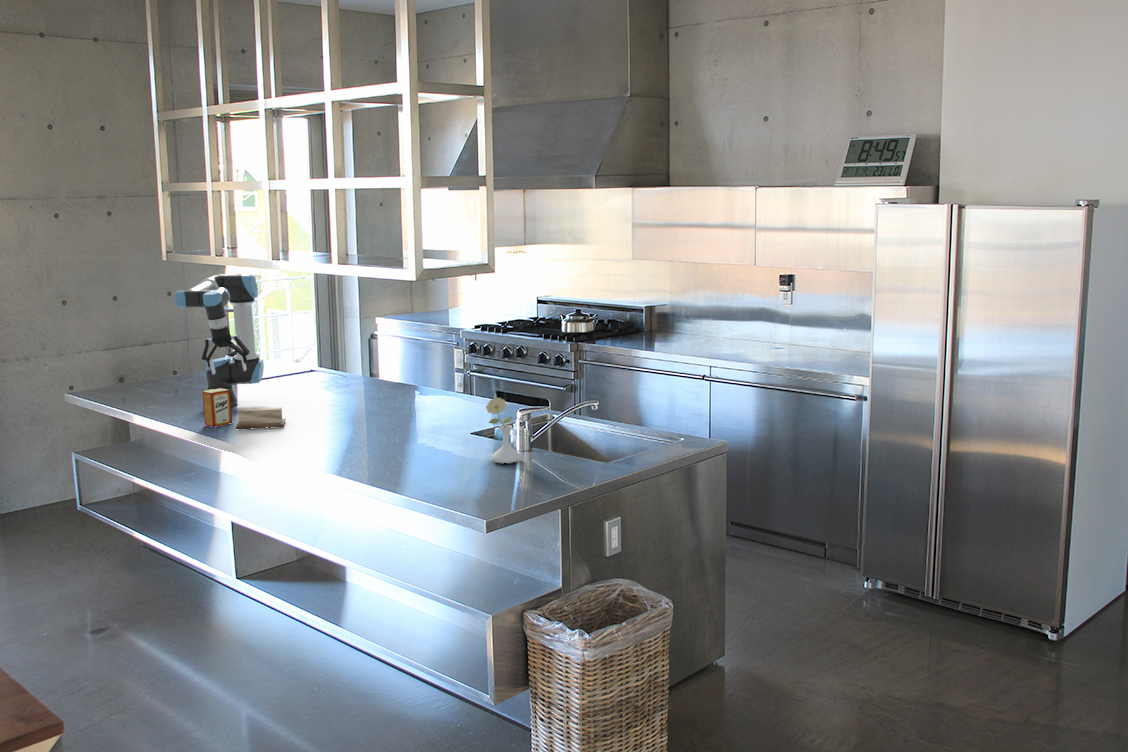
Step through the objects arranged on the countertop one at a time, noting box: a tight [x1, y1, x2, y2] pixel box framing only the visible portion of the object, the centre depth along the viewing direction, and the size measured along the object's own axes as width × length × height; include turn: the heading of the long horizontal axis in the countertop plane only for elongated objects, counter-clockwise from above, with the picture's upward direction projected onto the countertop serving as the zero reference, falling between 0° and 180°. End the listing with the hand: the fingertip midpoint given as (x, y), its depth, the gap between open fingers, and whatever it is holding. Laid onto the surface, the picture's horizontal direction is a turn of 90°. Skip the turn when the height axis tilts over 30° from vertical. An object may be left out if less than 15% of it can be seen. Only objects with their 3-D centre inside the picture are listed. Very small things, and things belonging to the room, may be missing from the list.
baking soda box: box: [202, 388, 233, 428], centre depth 420 cm, size 10×6×16 cm
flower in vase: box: [485, 397, 522, 464], centre depth 354 cm, size 13×11×25 cm
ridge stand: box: [235, 407, 286, 430], centre depth 418 cm, size 12×20×8 cm, turn 102°
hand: (229, 371), depth 416 cm, fingers open, 13 cm apart
